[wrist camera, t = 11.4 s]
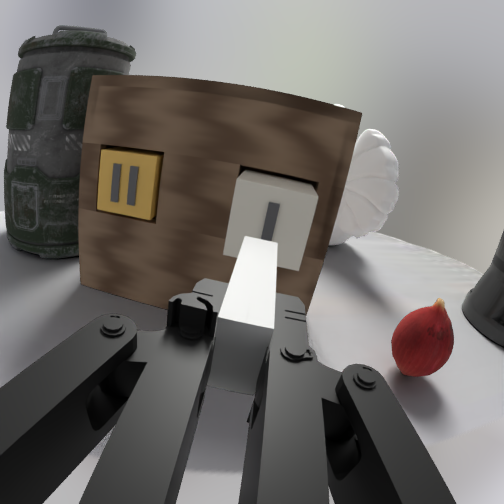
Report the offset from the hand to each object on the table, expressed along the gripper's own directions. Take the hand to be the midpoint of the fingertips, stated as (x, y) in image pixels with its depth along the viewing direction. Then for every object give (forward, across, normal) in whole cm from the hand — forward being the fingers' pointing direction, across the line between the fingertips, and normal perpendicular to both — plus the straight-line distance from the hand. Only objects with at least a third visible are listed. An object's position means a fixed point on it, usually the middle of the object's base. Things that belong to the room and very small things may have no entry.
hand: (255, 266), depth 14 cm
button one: (+8, 0, -2) cm, 9 cm away
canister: (+19, -26, -11) cm, 35 cm away
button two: (+12, -12, -2) cm, 17 cm away
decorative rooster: (+38, +10, -11) cm, 41 cm away
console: (+14, -6, -11) cm, 19 cm away
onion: (+7, +16, -11) cm, 21 cm away
